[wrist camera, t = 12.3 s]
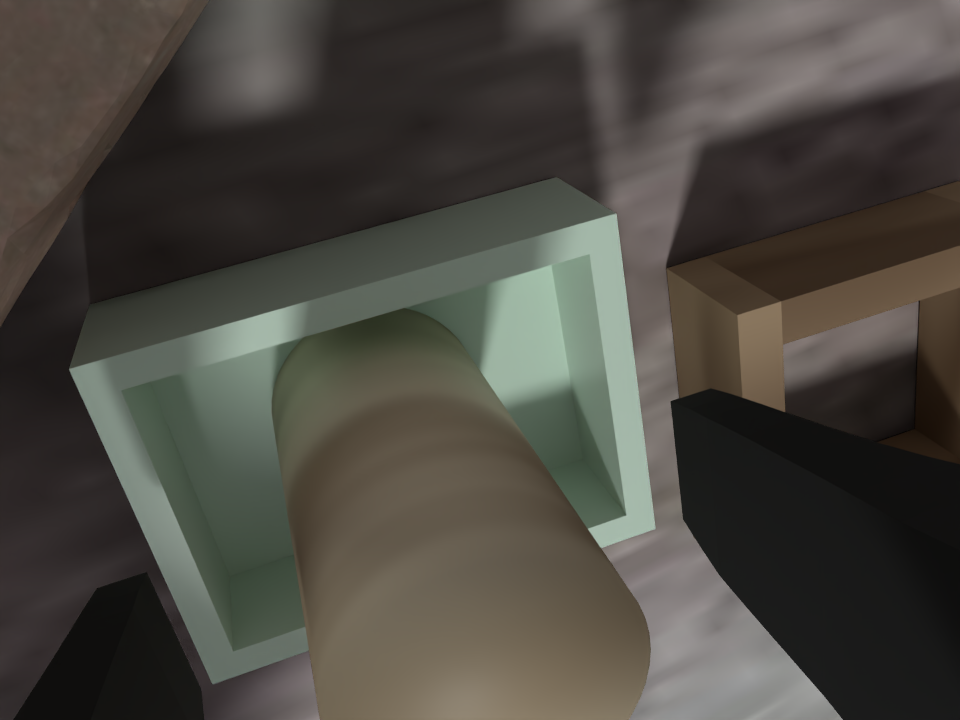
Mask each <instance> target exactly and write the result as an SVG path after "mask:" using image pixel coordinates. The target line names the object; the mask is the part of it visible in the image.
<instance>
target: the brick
mask: <svg viewBox="0 0 960 720" xmlns="http://www.w3.org/2000/svg"><path fill="white" fill-rule="evenodd" d="M209 1H210V0H0V328H1V326H2V324H3V322H4V320H5V318H6V317H7V315H8V313H9V312H10V310H11V308H12V307H13V305H14V303H15V302H16V300H17V299H18V297H19V295H20V294H21V292H22V290H23V289H24V287H25V285H26V284H27V282H28V281H29V279H30V277H31V276H32V274H33V273H34V271H35V270H36V268H37V267H38V265H39V264H40V262H41V261H42V259H43V258H44V256H45V255H46V253H47V252H48V250H49V249H50V247H51V246H52V244H53V242H54V241H55V238H56V237H57V235H58V234H59V232H60V230H61V229H62V227H63V225H64V224H65V222H66V220H67V219H68V217H69V215H70V214H71V212H72V210H73V208H74V207H75V205H76V203H77V201H78V200H79V198H80V196H81V194H82V193H83V191H84V189H85V187H86V186H87V184H88V182H89V180H90V179H91V177H92V176H93V174H94V173H95V171H96V170H97V169H98V167H99V166H100V165H101V163H102V162H103V160H104V159H105V158H106V156H107V155H108V154H109V152H110V151H111V149H112V148H113V147H114V145H115V144H116V142H117V141H118V139H119V138H120V136H121V135H122V133H123V132H124V130H125V129H126V128H127V126H128V125H129V123H130V122H131V120H132V119H133V117H134V116H135V114H136V113H137V111H138V110H139V108H140V107H141V105H142V103H143V102H144V100H145V99H146V97H147V95H148V94H149V92H150V91H151V89H152V87H153V86H154V84H155V83H156V81H157V79H158V78H159V77H160V75H161V74H162V72H163V71H164V70H165V68H166V67H167V65H168V64H169V62H170V61H171V59H172V58H173V56H174V55H175V53H176V52H177V50H178V49H179V47H180V46H181V44H182V42H183V41H184V39H185V38H186V36H187V35H188V33H189V31H190V30H191V28H192V27H193V25H194V24H195V22H196V20H197V19H198V17H199V16H200V14H201V13H202V11H203V9H204V8H205V6H206V5H207V3H208V2H209Z"/></svg>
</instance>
